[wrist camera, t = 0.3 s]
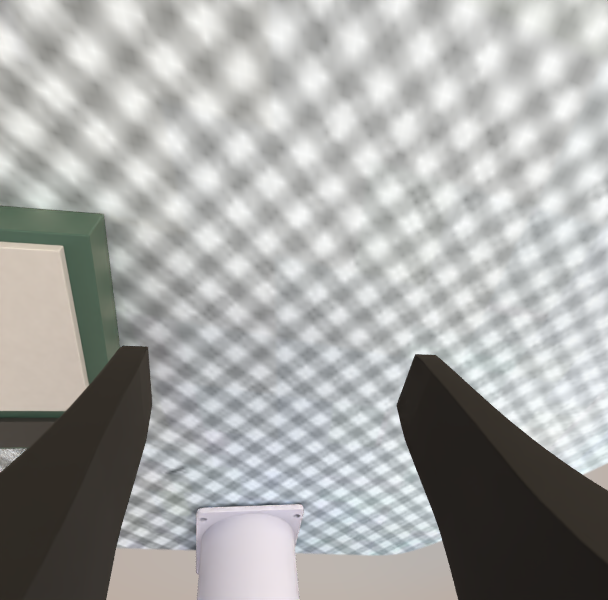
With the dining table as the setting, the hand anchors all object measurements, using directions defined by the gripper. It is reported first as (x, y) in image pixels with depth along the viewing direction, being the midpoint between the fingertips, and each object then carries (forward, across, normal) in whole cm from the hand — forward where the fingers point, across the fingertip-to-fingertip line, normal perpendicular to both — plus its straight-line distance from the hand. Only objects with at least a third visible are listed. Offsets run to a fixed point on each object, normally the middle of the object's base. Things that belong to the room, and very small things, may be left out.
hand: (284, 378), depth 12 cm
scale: (+10, +12, +6) cm, 17 cm away
